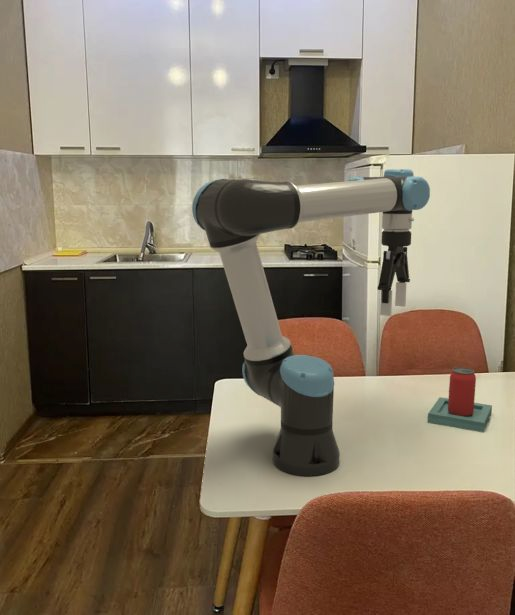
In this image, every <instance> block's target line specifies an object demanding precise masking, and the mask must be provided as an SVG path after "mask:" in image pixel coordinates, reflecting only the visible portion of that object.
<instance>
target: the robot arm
mask: <svg viewBox="0 0 515 615" xmlns="http://www.w3.org/2000/svg"><path fill="white" fill-rule="evenodd" d="M430 196H431V188H430V185H429V183H428V181H427V180H426V178H424V177H423V176H416V175H415V176H414V171H413V170H411V168H410V169H409V168H407V169H406V168H404V169H403V168H402V169H401V168H400V169H399V168H398V169H397V168H394V169H393V168H390V169H385V170H384V172H383V176H357V177H355V176H354V177H351V178H348V179H347V180H346V181H337V182H327V183H326V182H323V183H312V184H303V185H302V184H301V185H300V184H299V185H295V184H294V183H293V182H292V181H288V180H287V181H265V180H264V181H263V180H255V179H247V178H241V179H240V178H239V179H227V178H219V179H215V180H210V181H208V182H205V183H204V184H203V185H202V186H201V187H199V189H198V190H197V192H196V193H195V195H194V197H193V199H192V206H191V208H192V209H191V210H192V211H191V212H192V217H193V220H194V221H195V223H196V225H197V226H199V227H200V229H202V230H203V231H205V235H206V237H207V241H208V244H209V247H210V249H212V250H214V251H215V252H217V253H219V256H220V259H221V262H222V266H223V270H224V273H225V276H226V280H227V283H228V286H229V289H230V292H231V295H232V299H233V303H234V306H235V310H236V312H237V315H238V319H239V322H240V326H241V328H242V332H243V336H244V339H245V342H246V344H247V345H246V347H245V349H244V351H243V358H244V362H243V363H242V368H241V369H242V372H241V373H242V378H243V381H244V382H245V384H246V385H247V387H249V389H251V391H253V392H254V393H255V394H256V395H258V396H259V397H262V398H264V399H266V400H268V401H269V402H271V403H272V404H274V405H276V406H278V407H279V408H280V429H279V432H278V435H277V437H276V441H275V444H274V446H273V449H272V462H273V465H274V466H275V467H276V468H277V469H279V470H281V471H282V472H285V473H288V474H291V475H296V476H302V477H303V476H304V477H306V476H307V477H311V476H312V477H313V476H321V475H325V474H326V475H327V474H328V473H331V472H333V471H335V470H336V469H337V468H338V467H339V465H340V459H341V458H340V456H341V455H340V454H341V453H340V450H339V446H338V443H337V440H336V436H335V433H334V430H333V429H334V428H333V424H334V423H333V422H334V421H333V420H334V419H333V418H334V391H335V390H334V389H335V378H334V370H333V368H332V366H331V364H330V363H329V362H328V361H326V360H325V359H323V358H320V357H318V356H310V355H309V354H308V355H307V354H294V350H293V346H292V343H291V340H290V339H289V338H287V337H286V336H284V335H282V334H283V333H282V331H281V327H280V322H279V320H278V316H277V312H276V309H275V306H274V302H273V299H272V294H271V291H270V288H269V287H270V286H269V283H268V281H267V277H266V274H265V270H264V266H263V262H262V259H261V255H260V252H259V248H258V243H257V240H258V238H259V237H260V236H261V235H262V234H267V233H271V232H276V231H282V230H289V229H294V228H295V227H296V226H298V224H299V223H305V222H312V221H313V222H314V221H321V220H327V219H329V220H330V219H337V218H343V217H352V216H360V215H368V214H377V213H382V215H381V216H382V218H381V229H382V231H381V245H382V246H385V247H387V250H384V251H383V256H382V265H381V270H380V276H379V281H378V285H377V290H378V291H380V308H379V309H380V310H379V315H380V316H385V317H386V316H387V317H391V316H392V310H393V309H392V308H393V307H392V306H393V290H392V286H393V283H394V279H395V276H396V282H395V298H394V304H395V305H394V306H395V307H404V308H405V307H406V303H407V302H406V301H407V299H406V298H407V285H408V284H407V283H410V281H411V278H410V273H409V261H408V246H411V245H412V231H410V230H411V229H412V223H413V222H414V221H415V219H414V217H413V211H418V210H421V209H423V208H425V207H426V205H427V204H428V202H429V200H430Z"/></svg>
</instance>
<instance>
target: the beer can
mask: <svg viewBox="0 0 515 615" xmlns="http://www.w3.org/2000/svg"><path fill="white" fill-rule="evenodd" d="M449 375H450V376H449V385H448V386H449V387H448V399H449V400H448V411H449V412H450V413H451V414H453V415H457V416H463V417H466V416H470V415H472V414H473V413H474V403H475V400H476V399H475V396H476V381H477V376H476V374H475V370H474V369H473V368H469V367H465V366H456V367H453V368H452V370H451V373H450V374H449Z"/></svg>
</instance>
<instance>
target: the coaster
mask: <svg viewBox="0 0 515 615" xmlns="http://www.w3.org/2000/svg"><path fill="white" fill-rule="evenodd" d="M448 400H449V397H448V398H447V397H441V396H439V398H437V399H436V402H435V403H434V404H433V406H432V407H431V408H430V410H429V412H428V413H427V423H430V424H434V425H441V426H447V427H453V428H457V429H463V430H469V431H473V432H474V431H475V432H480V433H484V432H485V430H486V427H487V425H488V423H489V420H490V418H491V416H492V409H493V405H491V404H486V403H485V404H484V403H478V402H474V413H473V414H472V415H470V416H466V417H463V416H457V415H453V414H451V413H450V412H449V411H448Z"/></svg>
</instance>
